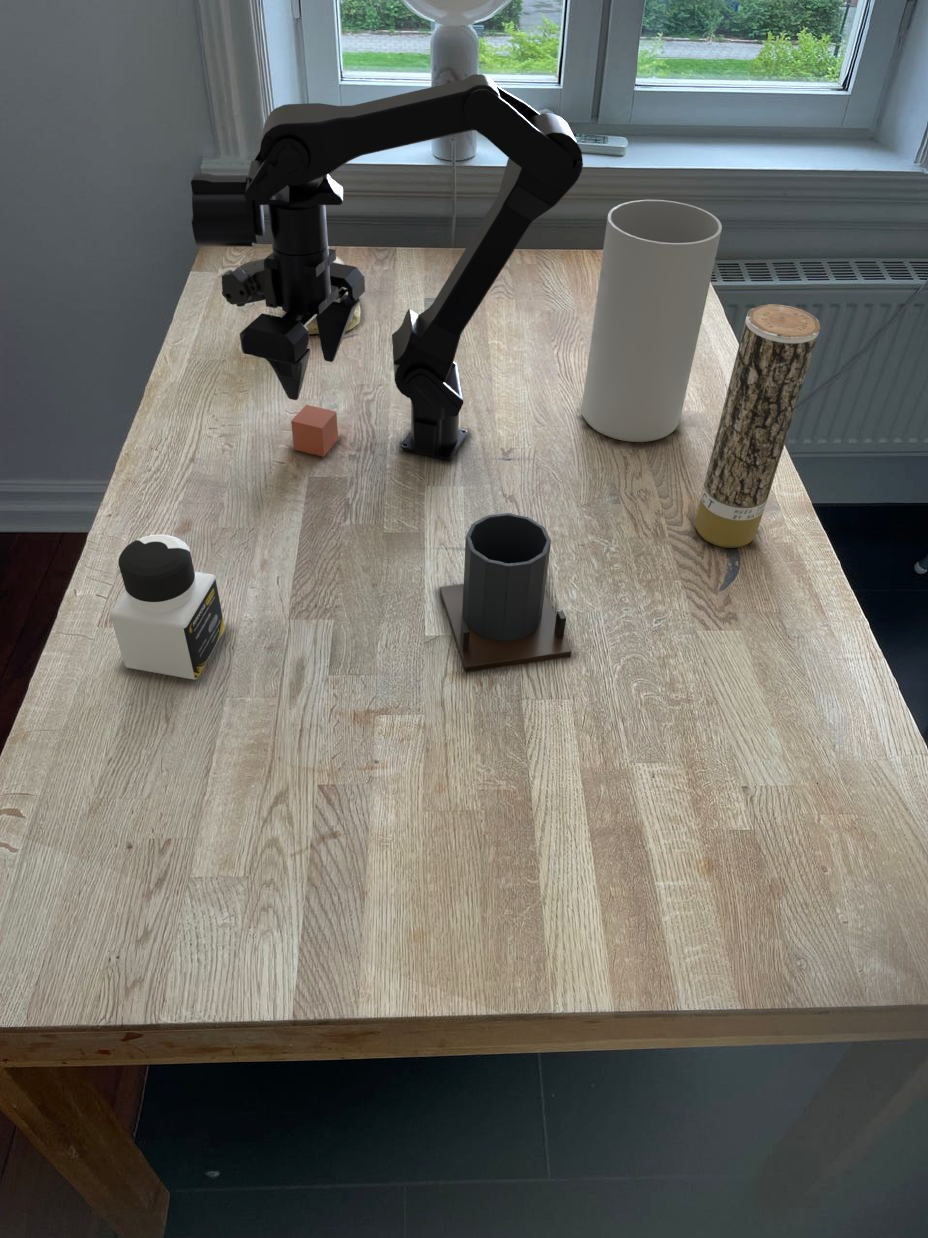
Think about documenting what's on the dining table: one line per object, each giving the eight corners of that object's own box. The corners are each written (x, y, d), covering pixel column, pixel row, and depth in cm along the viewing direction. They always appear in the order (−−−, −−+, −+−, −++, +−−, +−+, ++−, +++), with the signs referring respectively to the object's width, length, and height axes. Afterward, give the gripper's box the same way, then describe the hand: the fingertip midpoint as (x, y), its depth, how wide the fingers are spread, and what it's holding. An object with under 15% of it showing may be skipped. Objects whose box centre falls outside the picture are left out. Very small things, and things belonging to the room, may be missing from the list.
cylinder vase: (568, 430, 122) (594, 230, 104) (596, 384, 130) (624, 192, 113) (666, 454, 118) (709, 252, 101) (688, 405, 127) (731, 211, 110)
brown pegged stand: (439, 592, 99) (439, 567, 96) (537, 579, 101) (540, 554, 98) (465, 672, 91) (466, 647, 89) (570, 657, 93) (574, 631, 90)
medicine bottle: (197, 682, 89) (175, 584, 81) (124, 668, 90) (94, 570, 81) (226, 629, 94) (208, 531, 86) (157, 617, 95) (132, 519, 86)
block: (308, 432, 119) (306, 404, 116) (338, 439, 118) (336, 411, 115) (293, 449, 116) (290, 420, 114) (324, 457, 115) (321, 428, 113)
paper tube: (758, 520, 109) (823, 312, 92) (751, 557, 105) (818, 343, 88) (698, 507, 111) (751, 299, 94) (688, 542, 106) (742, 329, 89)
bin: (455, 593, 98) (458, 518, 91) (528, 583, 99) (536, 509, 93) (473, 646, 92) (478, 570, 86) (550, 635, 94) (560, 559, 87)
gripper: (272, 200, 109) (286, 330, 119) (183, 266, 96) (207, 404, 107) (364, 216, 106) (369, 347, 117) (285, 286, 93) (299, 426, 104)
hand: (311, 379), depth 111 cm, fingers open, 9 cm apart
